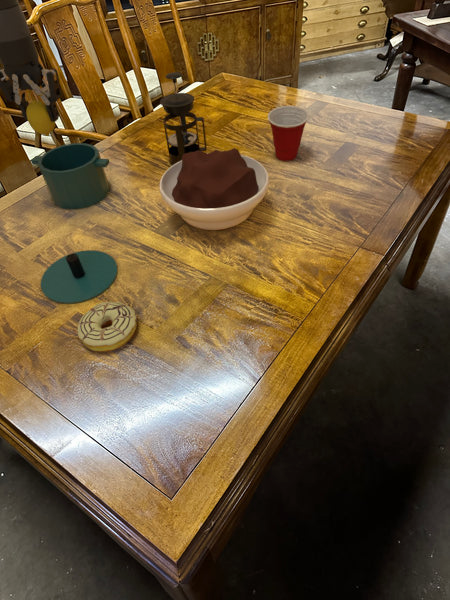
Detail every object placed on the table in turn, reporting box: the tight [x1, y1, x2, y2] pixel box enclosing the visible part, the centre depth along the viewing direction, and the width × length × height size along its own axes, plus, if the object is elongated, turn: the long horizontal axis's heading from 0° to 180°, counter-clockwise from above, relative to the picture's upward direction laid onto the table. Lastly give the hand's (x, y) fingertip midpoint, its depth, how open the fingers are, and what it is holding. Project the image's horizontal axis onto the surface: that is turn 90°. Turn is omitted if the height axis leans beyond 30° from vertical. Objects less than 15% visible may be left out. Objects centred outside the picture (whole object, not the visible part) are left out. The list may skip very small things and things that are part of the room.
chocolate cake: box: [158, 147, 270, 231], centre depth 96 cm, size 25×25×15 cm
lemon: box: [26, 99, 56, 137], centre depth 93 cm, size 6×6×8 cm
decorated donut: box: [77, 301, 138, 352], centre depth 76 cm, size 10×11×4 cm
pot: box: [30, 142, 110, 210], centre depth 107 cm, size 15×20×10 cm
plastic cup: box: [267, 105, 310, 162], centre depth 114 cm, size 11×11×12 cm
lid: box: [40, 249, 119, 305], centre depth 86 cm, size 16×16×6 cm
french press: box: [159, 71, 208, 166], centre depth 112 cm, size 12×9×23 cm
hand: (42, 119), depth 94 cm, fingers closed on lemon, 5 cm apart
